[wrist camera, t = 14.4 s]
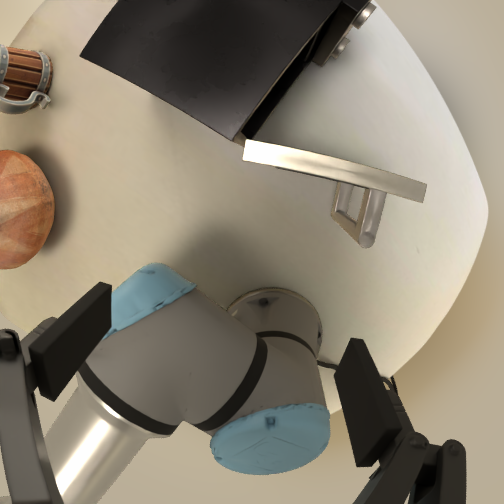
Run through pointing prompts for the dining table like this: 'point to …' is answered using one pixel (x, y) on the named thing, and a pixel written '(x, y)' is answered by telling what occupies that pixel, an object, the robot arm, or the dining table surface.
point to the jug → (23, 209)
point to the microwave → (222, 52)
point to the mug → (23, 79)
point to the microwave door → (341, 184)
